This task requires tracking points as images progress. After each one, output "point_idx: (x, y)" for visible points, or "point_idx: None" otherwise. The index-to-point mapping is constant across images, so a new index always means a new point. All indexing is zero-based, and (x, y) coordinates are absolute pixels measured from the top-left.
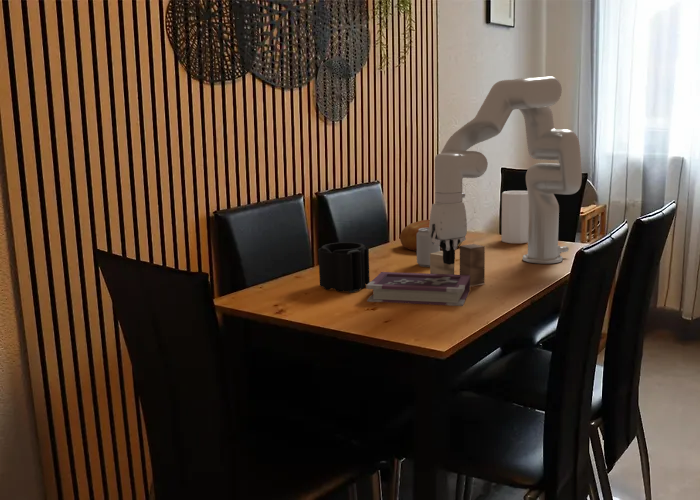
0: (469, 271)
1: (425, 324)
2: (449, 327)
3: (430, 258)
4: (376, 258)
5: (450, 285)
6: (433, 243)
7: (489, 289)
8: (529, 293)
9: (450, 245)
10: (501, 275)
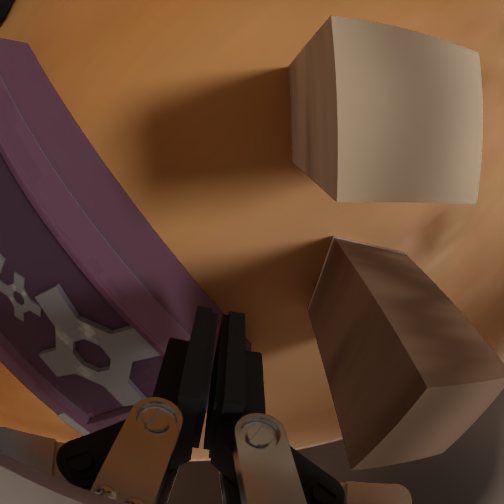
0: (324, 349)
1: (5, 395)
2: (35, 424)
3: (317, 34)
4: None
5: (97, 396)
6: (3, 444)
7: (314, 371)
8: (335, 434)
9: (232, 464)
10: (501, 270)
